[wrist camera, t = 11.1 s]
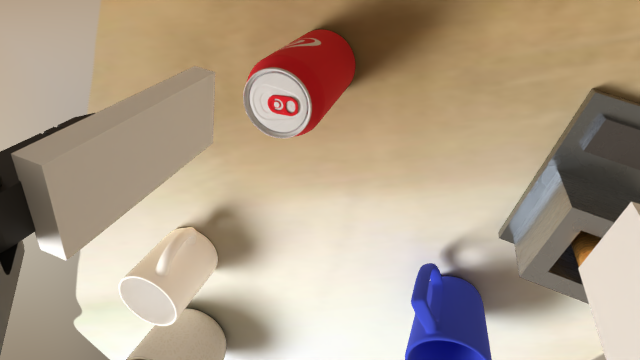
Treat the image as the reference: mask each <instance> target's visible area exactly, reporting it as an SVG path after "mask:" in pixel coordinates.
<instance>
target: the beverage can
mask: <svg viewBox="0 0 640 360" xmlns="http://www.w3.org/2000/svg"><path fill="white" fill-rule="evenodd" d="M354 73H355V58H354V54H353V51H352V49H351V47H350V46H349V44H348V43H347V42H346V41H345V40H344V39H343V38H342V37H341V36H340V35H338V34H336V33H334V32H332V31H329V30H314V31H311V32H308V33H307V34H305V35H303V36H301V37H300V38H298V39H296V40H295V41H293V42H291V43H290V44H288V45H286V46H284V47H283V48H281V49H279V50H278V51H276V52H274V53H273V54H271V55H269V56H267V57H266V58H264V59H262V60H261V61H260V62H258V63H257V64H256V65H255V66H254V68H253V69H252V71H251V72H250V75H249V77H248V80H247V83H246V86H245V88H244V94H243V101H244V107H245V110H246V113H247V115H248V117H249V118H250V120H251V121H252V123H253V124H254V125H255V126H256V127H257V128H258V129H259V130H261V131H262V132H263V133H265V134H267V135H269V136H272V137H276V138H290V137H294V136H299V135H303V134H305V133H307V132H309V131H310V130H312V129H313V128H314V127H315V126H316V125H317V124H318V123H319V122H320V120H321V119H322V118H323V117H324V115H325V114H326V113H327V112H328V111H329V109H330V108H331V107H332V106H333V104H334V103H335V102H336V101H337V99H338V98H339V97H340V96H341V95H342V93H343V92H344V91H345V90H346V88H347V87H348V86H349V85H350V83H351V81H352V79H353V77H354Z"/></svg>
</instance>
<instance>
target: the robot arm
mask: <svg viewBox="0 0 640 360" xmlns="http://www.w3.org/2000/svg"><path fill="white" fill-rule="evenodd" d="M214 94H215V72H213V71H210V70H206V69H203V68H200V67H197V66H194V67H192V68H190V69H187V70H185V71H183V72H181V73H179V74H177V75H175V76H173V77H171V78H169V79H166V80H164V81H162V82H160V83H158V84H156V85H154V86H152V87H150V88H148V89H145V90H143V91H141V92H139V93H137V94H135V95H133V96H131V97H129V98H127V99H125V100H122V101H120V102H118V103H116V104H114V105H112V106H110V107H108V108H106V109H104V110H101V111H99V112H97V113H92V114H88V115H84V116H79V117H75V118H72V119H70V120H68V121H66V122H64V123H62V124H60V125H58V127H57V128H56V127H53V128H51V129H49V130H46V131H44V133H43V134H41V133H40V134H38V135H35V136H34V137H31V138H29V139H27V140H25V141H23V142H20V143H18V144H16V145H14V146H12V147H10V148H7V149H5V150H3V151H1V152H0V354H1V350H2V345H3V341H4V336H5V332H6V328H7V324H8V319H9V315H10V311H11V307H12V303H13V298H14V294H15V290H16V285H17V281H18V277H19V272H20V268H21V264H22V260H23V256H24V244H23V241H22V240H23V239H24V238H26V237H27V236H29V235H30V234H32V233H33V232H35V234H36V237H37V240H38V244H39V247H40V249H41V250H43V251H45V252H48V253H50V254H52V255H55V256H57V257H59V258H62V259H64V260H66V261H67V260H68V259H69V258H70V257H71V256H73V255H74V254H75V253H77V252H78V251H79V250H80V249H82V248H83V247H84V246H85V245H87V244H88V243H89V242H90V241H92V240H93V239H94V238H95V237H96V236H98V235H99V234H100V233H101V232H103V231H104V230H105V229H106V228H108V227H109V226H110V225H111V224H113V223H114V222H115V221H116V220H118V219H119V218H120V217H121V216H123V215H124V214H125V213H126V212H128V211H129V210H130V209H131V208H133V207H134V206H135V205H136V204H138V203H139V202H140V201H141V200H143V199H144V198H145V197H146V196H148V195H149V194H150V193H151V192H153V191H154V190H155V189H156V188H157V187H159V186H160V185H161V184H162V183H164V182H165V181H166V180H167V179H169V178H170V177H171V176H172V175H174V174H175V173H176V172H177V171H179V170H180V169H181V168H182V167H184V166H185V165H186V164H187V163H189V162H190V161H191V160H192V159H194V158H195V157H196V156H197V155H199V154H200V153H201V152H202V151H204V150H205V149H206V148H207V147H209V146H210V145H211V144H212V143H213V126H214ZM578 269H579V273H580V276H581V279H582V282H583V286H584V289H585V292H586V295H587V299H588V302H589V305H590V309H591V312H592V315H593V318H594V322H595V325H596V328H597V331H598V335H599V338H600V341H601V344H602V348H603V351H604V354H605V358H606V360H640V204H638V203H635V202H631V203H630V204H629V205H628V206H627V208H626V209H625V210H624V211H623V213H622V214H621V215H620V216H619V218H618V219H617V220H616V221H615V223H614V224H613V225H612V226H611V228H610V229H609V230H608V232H607V233H606V234H605V235H604V237H603V238H602V239H601V240H600V242H599V243H598V244H597V245H596V247H595V248H594V249H593V250H592V252H591V253H590V254H589V255H588V257H587V258H586V259H585V260H584V262H583V263H582V264H581V265H580V267H579V268H578Z"/></svg>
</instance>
